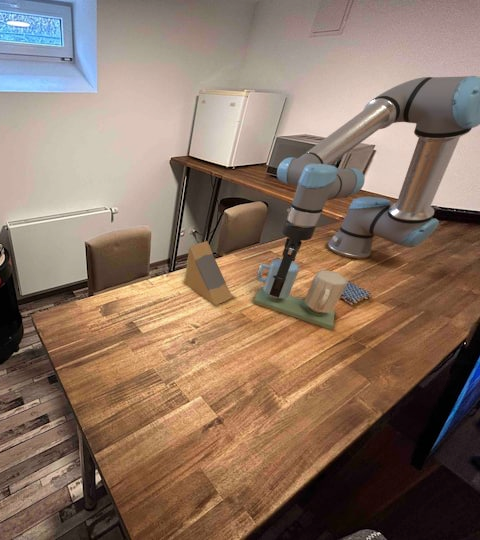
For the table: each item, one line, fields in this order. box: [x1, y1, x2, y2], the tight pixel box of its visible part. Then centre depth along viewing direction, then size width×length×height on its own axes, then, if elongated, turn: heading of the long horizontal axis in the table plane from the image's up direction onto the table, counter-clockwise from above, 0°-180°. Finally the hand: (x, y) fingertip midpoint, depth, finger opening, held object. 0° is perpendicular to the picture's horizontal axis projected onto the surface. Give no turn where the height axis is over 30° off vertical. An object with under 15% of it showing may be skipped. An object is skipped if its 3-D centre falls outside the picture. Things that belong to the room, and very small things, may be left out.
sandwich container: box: [184, 240, 233, 306], centre depth 97 cm, size 9×15×15 cm, turn 31°
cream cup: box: [303, 269, 348, 313], centre depth 84 cm, size 8×10×10 cm
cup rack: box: [253, 286, 336, 331], centre depth 90 cm, size 9×22×14 cm, turn 56°
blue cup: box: [256, 257, 301, 298], centre depth 92 cm, size 8×10×10 cm
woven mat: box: [339, 280, 372, 306], centre depth 99 cm, size 10×11×2 cm
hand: (277, 286), depth 93 cm, fingers open, 11 cm apart
